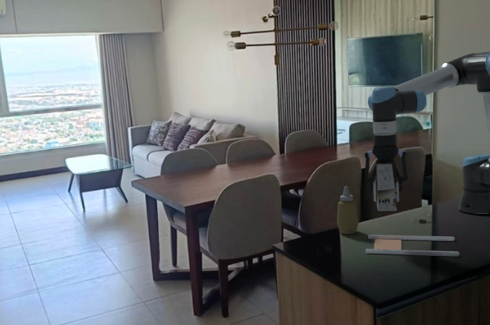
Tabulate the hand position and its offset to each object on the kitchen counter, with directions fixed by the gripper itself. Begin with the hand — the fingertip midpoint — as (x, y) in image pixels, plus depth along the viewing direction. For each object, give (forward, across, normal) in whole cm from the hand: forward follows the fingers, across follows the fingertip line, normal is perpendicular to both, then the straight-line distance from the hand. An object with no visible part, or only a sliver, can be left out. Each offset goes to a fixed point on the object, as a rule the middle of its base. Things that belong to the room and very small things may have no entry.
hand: (386, 200), depth 170 cm
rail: (+16, +8, 0) cm, 18 cm away
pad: (+16, 0, 0) cm, 16 cm away
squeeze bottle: (+16, -15, +14) cm, 26 cm away
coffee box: (+3, 0, 0) cm, 3 cm away
